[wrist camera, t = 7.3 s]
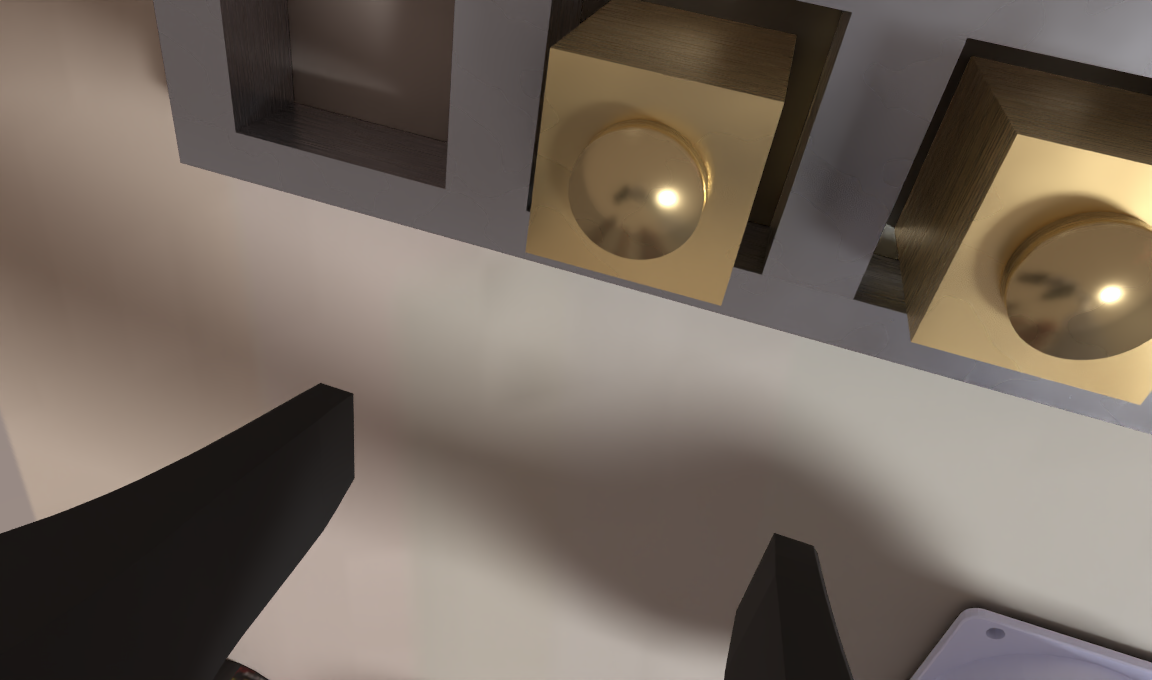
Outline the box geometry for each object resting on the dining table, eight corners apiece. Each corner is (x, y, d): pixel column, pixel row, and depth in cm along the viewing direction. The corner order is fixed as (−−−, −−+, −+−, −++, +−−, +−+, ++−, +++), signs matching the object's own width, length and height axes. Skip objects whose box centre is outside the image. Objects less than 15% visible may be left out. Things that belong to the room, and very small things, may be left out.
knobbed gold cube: (796, 34, 16) (781, 113, 12) (745, 203, 19) (717, 322, 14) (617, -5, 17) (539, 55, 12) (589, 163, 19) (515, 266, 15)
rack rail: (1397, 24, 13) (1495, 59, 11) (1135, 372, 18) (1172, 440, 16) (201, -216, 17) (115, -222, 15) (241, 131, 21) (180, 162, 19)
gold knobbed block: (1177, 101, 15) (1321, 217, 11) (1070, 272, 17) (1151, 426, 13) (970, 55, 16) (1025, 146, 11) (894, 227, 18) (914, 360, 13)
